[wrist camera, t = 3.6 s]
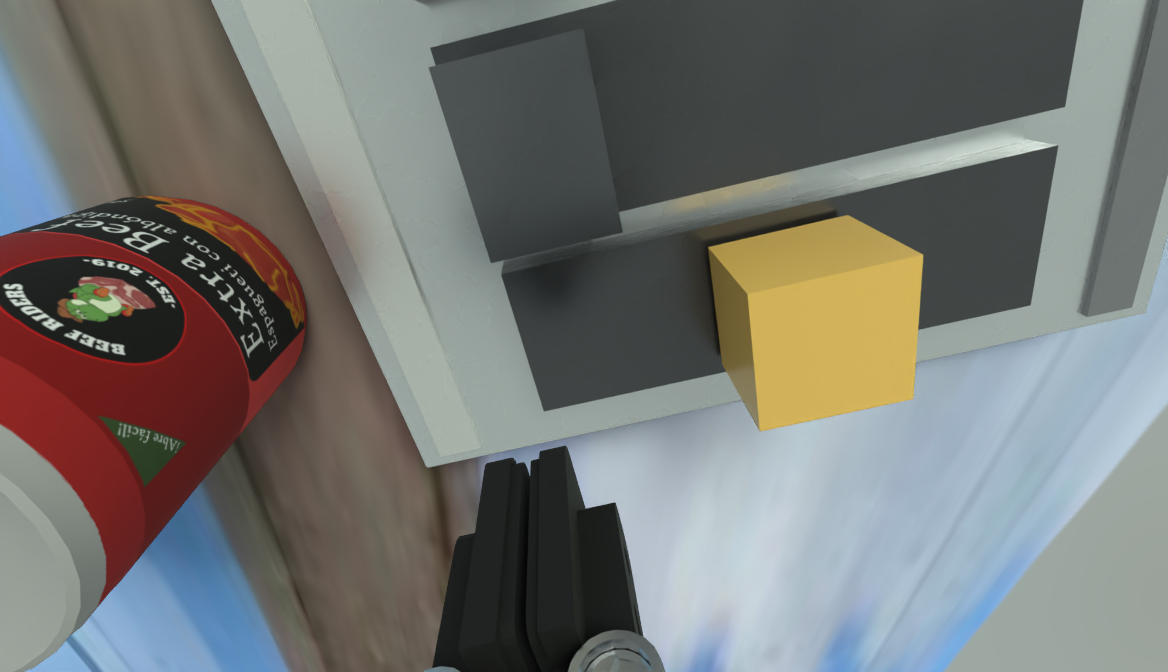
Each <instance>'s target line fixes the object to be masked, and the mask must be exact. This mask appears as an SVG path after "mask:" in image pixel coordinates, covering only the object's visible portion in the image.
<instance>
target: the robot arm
mask: <svg viewBox="0 0 1168 672" xmlns="http://www.w3.org/2000/svg"><path fill="white" fill-rule="evenodd" d="M423 672H665V669H664V666H663V664H662V661H661V658H660V657H659V655H658V653H657V651H656V649H655V648H654V646H653V645H652V644H651V643H650V642H648V641H647V640H646V639H645V638H644V637H643V633H642V627H641V621H640V616H639V610H638V604H637V599H636V593H635V587H634V581H633V576H632V570H631V565H630V560H629V555H628V550H627V546H626V541H625V537H624V533H623V529H622V525H621V521H620V517H619V513H618V510H617V506H616V503H610V504H606V505H601V506H597V507H592V508H587V509H585V505H584V502H583V498H582V495H581V492H580V488H579V485H578V482H577V478H576V475H575V472H574V468H573V465H572V461H571V458H570V455H569V452H568V449H567V446H562V447H557V448H553V449H548V450H544V451H540V454H539V459H536V460H532V461H531V470H530V475H529V472H528V469H527V467H526V464H525V463H524V462H523V463H518V464H516V461H515V460H514V458H508V459H504V460H499V461H495V462H490V463H487V464H486V465H485V470H484V476H483V483H482V490H481V496H480V503H479V510H478V517H477V523H476V530H475V533H473V534H469V535H464V536H460V537H459V538H458V539H457V542H456V545H455V549H454V555H453V560H452V565H451V571H450V576H449V581H448V587H447V592H446V597H445V603H444V608H443V614H442V619H441V624H440V630H439V635H438V640H437V646H436V651H435V656H434V662H433V667H432V668H431V669H427V670H425V671H423Z"/></svg>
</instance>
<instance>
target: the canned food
mask: <svg viewBox="0 0 1168 672" xmlns="http://www.w3.org/2000/svg"><path fill="white" fill-rule="evenodd" d="M306 324H307V315H306V302H305V299H304V295H303V292H302V288H301V285H300V283H299V281H298V279H297V277H296V275H295V273H294V271H293V269H292V267H291V265H290V264H289V263H288V261H287V260H286V259H285V257H284V256H283V255H282V254H281V252H280V251H279V250H278V248H277V247H276V246H275V245H274V244H273V243H271V242H270V241H269V240H268V239H267V238H266V237H265V236H264V235H263V234H262V233H261V232H260V231H258V230H257V229H255V228H254V227H252V226H251V225H249V224H248V223H246V222H245V221H243V220H242V219H240V218H239V217H237V216H234V215H232V214H230V213H228V212H226V211H224V210H221V209H219V208H217V207H214V206H211V205H207V204H204V203H200V202H197V201H193V200H185V199H176V198H166V197H155V196H142V197H129V198H121V199H118V200H115V201H111V202H108V203H104V204H101V205H98V206H95V207H91V208H88V209H85V210H82V211H79V212H76V213H73V214H69V215H66V216H63V217H60V218H57V219H54V220H51V221H48V222H44V223H41V224H38V225H35V226H32V227H29V228H26V229H22V230H19V231H16V232H13V233H10V234H7V235H4V236H0V672H24V671H27V670H29V669H31V668H34V667H35V666H37V665H38V664H39V663H41V662H42V661H44V660H45V659H47V658H48V657H49V656H51V655H52V654H54V653H55V652H56V651H57V650H58V649H59V648H60V647H61V646H62V644H63V643H64V642H65V641H66V640H67V638H68V637H69V636H70V635H71V634H73V633H74V632H75V631H76V630H78V629H79V628H80V627H81V626H82V625H83V624H84V623H85V622H86V621H87V619H88V618H89V617H90V616H91V614H92V613H93V612H94V611H95V610H96V608H97V607H98V606H99V605H100V604H101V602H102V601H103V600H104V599H105V597H106V596H107V595H108V594H109V593H110V592H111V590H112V589H113V588H114V587H115V586H116V585H117V584H118V583H119V582H120V581H121V580H122V578H123V577H124V576H125V575H126V574H127V572H128V571H129V570H130V569H131V567H132V566H133V565H134V564H135V562H136V561H137V560H138V559H139V558H140V556H141V555H142V554H143V553H144V551H145V550H146V549H147V548H148V547H149V545H150V544H151V543H152V542H153V540H154V539H155V538H156V537H157V535H158V534H159V533H160V532H161V531H162V529H163V528H164V527H165V526H166V524H167V523H168V522H169V521H170V520H171V518H172V517H173V516H174V515H175V513H176V512H177V511H178V510H179V508H180V507H181V506H182V505H183V504H184V502H185V501H186V500H187V499H188V497H189V496H190V495H191V494H192V492H193V491H194V490H195V489H196V488H197V486H198V485H199V484H200V483H201V481H202V480H203V479H204V478H205V477H206V475H207V474H208V473H209V472H210V470H211V469H212V468H213V467H214V465H215V464H216V463H217V462H218V461H219V459H220V458H221V457H222V456H223V454H224V453H225V452H226V451H227V450H228V448H229V447H230V446H231V445H232V443H233V442H234V441H235V440H236V438H237V437H238V436H239V435H240V434H241V432H242V431H243V430H244V429H245V427H246V426H247V425H248V424H249V422H250V421H251V420H252V419H253V418H254V416H255V415H256V414H257V413H258V411H259V410H260V409H261V408H262V407H263V405H264V404H265V403H266V402H267V400H268V399H269V398H270V397H271V395H272V394H273V393H274V392H275V391H276V389H277V388H278V387H279V386H280V384H281V383H282V382H283V381H284V379H285V378H286V377H287V376H288V374H289V373H290V372H291V371H292V369H293V368H294V366H295V364H296V362H297V360H298V358H299V356H300V353H301V351H302V346H303V340H304V335H305V329H306Z"/></svg>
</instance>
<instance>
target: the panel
mask: <svg viewBox="0 0 1168 672" xmlns="http://www.w3.org/2000/svg"><path fill="white" fill-rule="evenodd" d="M211 1H212V3H213V5H214V7H215V10H216V12H217V14H218V16H219V18H220V20H221V23H222V25H223V27H224V29H225V31H226V33H227V36H228V38H229V40H230V42H231V44H232V46H233V49H234V51H235V53H236V55H237V57H238V59H239V62H240V64H241V66H242V68H243V70H244V72H245V75H246V77H247V79H248V81H249V83H250V85H251V88H252V90H253V92H254V94H255V96H256V98H257V101H258V103H259V105H260V107H261V109H262V111H263V114H264V116H265V118H266V120H267V122H268V124H269V127H270V129H271V131H272V133H273V135H274V137H275V140H276V142H277V144H278V146H279V148H280V150H281V153H282V155H283V157H284V159H285V161H286V164H287V166H288V168H289V170H290V172H291V174H292V177H293V179H294V181H295V183H296V185H297V187H298V190H299V192H300V194H301V196H302V198H303V200H304V203H305V205H306V207H307V209H308V211H309V213H310V216H311V218H312V220H313V222H314V224H315V226H316V229H317V231H318V233H319V235H320V237H321V239H322V242H323V244H324V246H325V248H326V250H327V252H328V255H329V257H330V259H331V261H332V263H333V265H334V268H335V270H336V272H337V274H338V276H339V278H340V281H341V283H342V285H343V287H344V289H345V291H346V294H347V296H348V298H349V300H350V302H351V304H352V307H353V309H354V311H355V313H356V315H357V317H358V320H359V322H360V324H361V326H362V328H363V330H364V333H365V335H366V337H367V339H368V341H369V343H370V346H371V348H372V350H373V352H374V354H375V356H376V359H377V361H378V363H379V365H380V367H381V369H382V372H383V374H384V376H385V378H386V380H387V382H388V385H389V387H390V389H391V391H392V393H393V395H394V398H395V400H396V402H397V404H398V406H399V408H400V411H401V413H402V415H403V417H404V419H405V421H406V424H407V426H408V428H409V430H410V432H411V434H412V437H413V439H414V441H415V443H416V445H417V447H418V450H419V452H420V454H421V456H422V458H423V460H424V463H425V465H426V467H427V468H428V467H433V466H438V465H442V464H447V463H451V462H456V461H461V460H465V459H470V458H475V457H479V456H484V455H489V454H493V453H498V452H503V451H507V450H512V449H517V448H521V447H526V446H530V445H535V444H540V443H544V442H549V441H554V440H558V439H563V438H568V437H572V436H577V435H582V434H586V433H591V432H595V431H600V430H605V429H609V428H614V427H619V426H623V425H628V424H633V423H637V422H642V421H647V420H651V419H656V418H661V417H665V416H670V415H674V414H679V413H684V412H688V411H693V410H698V409H702V408H707V407H712V406H716V405H721V404H726V403H730V402H735V401H740V400H742V399H741V397H740V395H739V393H738V392H737V390H736V388H735V386H734V385H733V383H732V381H731V379H730V377H729V376H728V374H727V372H726V370H725V369H724V367H723V365H722V358H721V350H720V341H719V333H718V325H717V317H716V309H715V300H714V292H713V284H712V276H711V267H710V259H709V251H708V247H711V246H715V245H720V244H724V243H728V242H733V241H737V240H741V239H746V238H750V237H754V236H759V235H763V234H767V233H772V232H776V231H780V230H785V229H789V228H793V227H798V226H802V225H806V224H811V223H815V222H819V221H824V220H828V219H832V218H837V217H841V216H845V215H849V216H851V217H853V218H854V219H856V220H858V221H860V222H862V223H864V224H866V225H868V226H870V227H872V228H873V229H875V230H877V231H879V232H881V233H883V234H885V235H887V236H889V237H891V238H892V239H894V240H896V241H898V242H900V243H902V244H904V245H906V246H908V247H910V248H911V249H913V250H915V251H917V252H919V253H921V254H923V267H922V281H921V296H920V310H919V324H918V339H917V353H916V362H921V361H925V360H930V359H935V358H939V357H944V356H949V355H953V354H958V353H962V352H967V351H972V350H976V349H981V348H986V347H990V346H995V345H1000V344H1004V343H1009V342H1014V341H1018V340H1023V339H1028V338H1032V337H1037V336H1041V335H1046V334H1051V333H1055V332H1060V331H1065V330H1069V329H1074V328H1079V327H1083V326H1088V325H1093V324H1097V323H1102V322H1107V321H1111V320H1116V319H1120V318H1125V317H1130V316H1134V315H1139V314H1144V313H1146V309H1147V306H1148V302H1149V299H1150V295H1151V292H1152V288H1153V284H1154V281H1155V277H1156V274H1157V270H1158V267H1159V263H1160V260H1161V256H1162V253H1163V249H1164V246H1165V242H1166V239H1167V235H1168V0H211Z"/></svg>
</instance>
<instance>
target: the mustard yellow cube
mask: <svg viewBox="0 0 1168 672" xmlns="http://www.w3.org/2000/svg"><path fill="white" fill-rule="evenodd" d="M708 251H709V259H710V267H711V276H712V284H713V292H714V300H715V309H716V317H717V325H718V333H719V341H720V350H721V358H722V365H723V367H724V369H725V370H726V372H727V374H728V376H729V377H730V379H731V381H732V383H733V385H734V386H735V388H736V390H737V392H738V393H739V395H740V397H741V399H742V401H743V402H744V404H745V406H746V408H747V409H748V411H749V413H750V415H751V416H752V418H753V420H754V422H755V424H756V425H757V427H758V429H759V431H765V430H769V429H774V428H779V427H783V426H788V425H793V424H798V423H802V422H807V421H812V420H816V419H821V418H826V417H831V416H835V415H840V414H845V413H849V412H854V411H859V410H864V409H868V408H873V407H878V406H882V405H887V404H892V403H897V402H901V401H906V400H911V399H913V396H914V382H915V367H916V353H917V339H918V324H919V310H920V296H921V281H922V267H923V254H921V253H919V252H917V251H915V250H913V249H911V248H910V247H908V246H906V245H904V244H902V243H900V242H898V241H896V240H894V239H892V238H891V237H889V236H887V235H885V234H883V233H881V232H879V231H877V230H875V229H873V228H872V227H870V226H868V225H866V224H864V223H862V222H860V221H858V220H856V219H854V218H853V217H851V216H849V215H845V216H841V217H837V218H832V219H828V220H824V221H819V222H815V223H811V224H806V225H802V226H798V227H793V228H789V229H785V230H780V231H776V232H772V233H767V234H763V235H759V236H754V237H750V238H746V239H741V240H737V241H733V242H728V243H724V244H720V245H715V246H711V247H708Z"/></svg>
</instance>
